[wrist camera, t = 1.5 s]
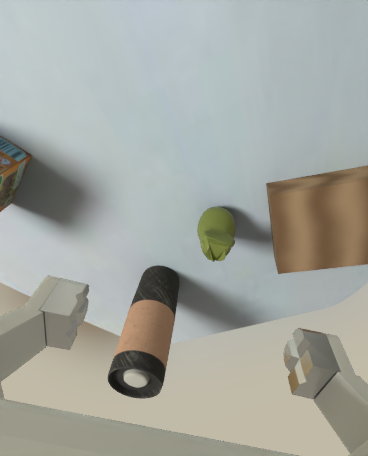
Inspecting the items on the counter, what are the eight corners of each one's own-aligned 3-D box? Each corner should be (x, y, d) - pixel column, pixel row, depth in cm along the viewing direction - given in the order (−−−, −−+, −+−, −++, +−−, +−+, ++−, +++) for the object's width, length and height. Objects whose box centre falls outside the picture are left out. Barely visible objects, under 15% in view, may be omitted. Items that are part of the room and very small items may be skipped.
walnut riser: (372, 164, 40) (386, 176, 36) (365, 247, 47) (376, 263, 44) (266, 183, 43) (270, 195, 40) (274, 257, 50) (278, 273, 47)
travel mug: (133, 272, 55) (94, 374, 39) (166, 258, 53) (140, 361, 36) (155, 298, 59) (129, 403, 42) (188, 286, 56) (174, 393, 39)
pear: (196, 225, 48) (190, 264, 40) (204, 197, 45) (200, 233, 37) (229, 233, 48) (230, 274, 40) (239, 205, 45) (243, 243, 37)
